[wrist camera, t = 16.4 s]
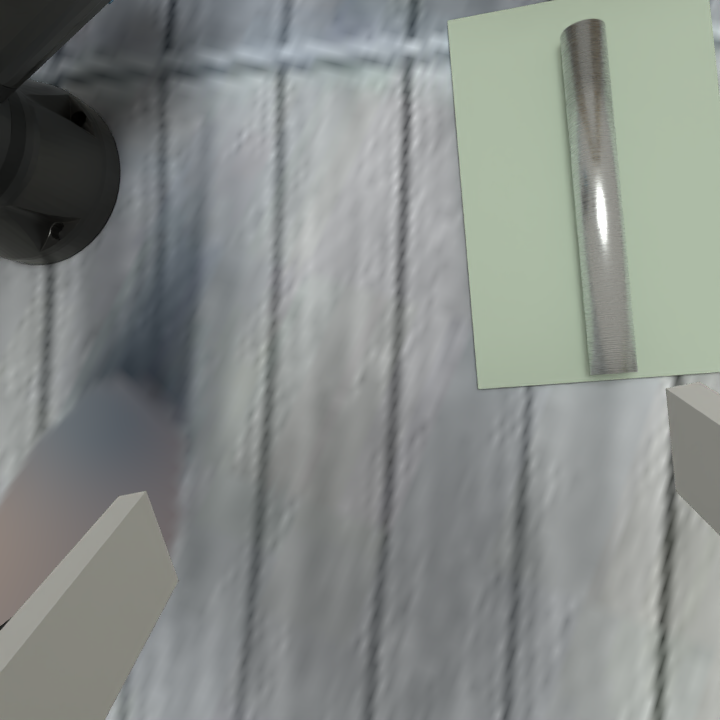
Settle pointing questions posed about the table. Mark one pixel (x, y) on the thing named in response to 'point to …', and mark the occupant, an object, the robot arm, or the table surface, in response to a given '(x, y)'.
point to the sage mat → (556, 193)
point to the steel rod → (598, 199)
